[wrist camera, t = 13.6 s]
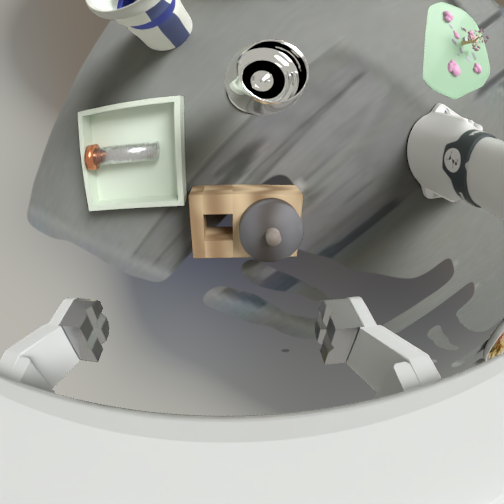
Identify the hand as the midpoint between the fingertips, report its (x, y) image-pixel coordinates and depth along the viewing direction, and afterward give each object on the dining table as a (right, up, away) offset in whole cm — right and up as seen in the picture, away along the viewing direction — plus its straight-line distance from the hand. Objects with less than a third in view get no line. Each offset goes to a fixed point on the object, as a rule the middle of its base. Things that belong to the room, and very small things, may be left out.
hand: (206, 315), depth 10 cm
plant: (+41, +41, +21) cm, 62 cm away
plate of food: (+111, -32, +68) cm, 134 cm away
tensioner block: (0, +8, +35) cm, 36 cm away
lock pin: (-12, +17, +27) cm, 34 cm away
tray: (-16, +18, +28) cm, 37 cm away
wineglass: (+2, +26, +26) cm, 36 cm away
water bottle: (-11, +35, +19) cm, 42 cm away
